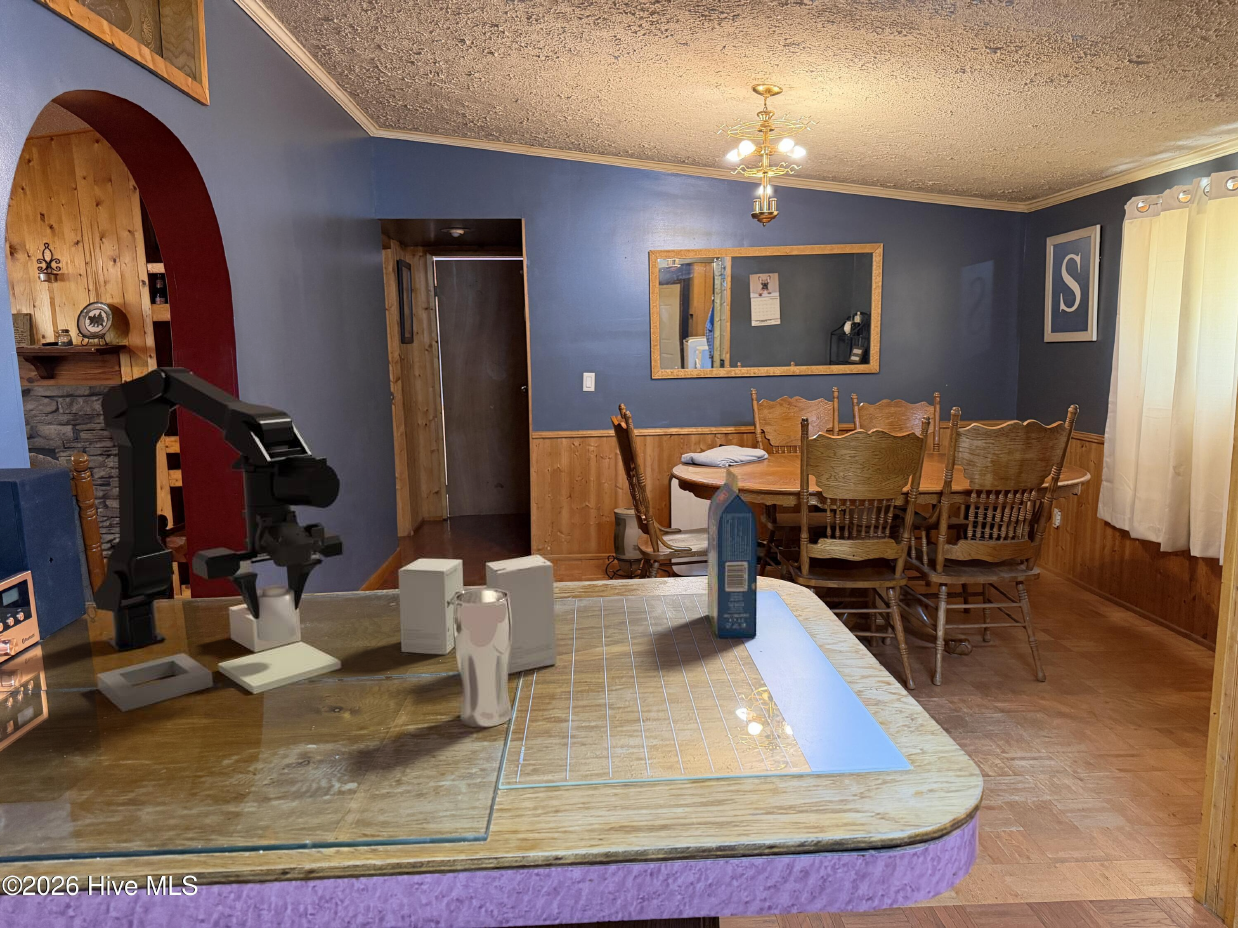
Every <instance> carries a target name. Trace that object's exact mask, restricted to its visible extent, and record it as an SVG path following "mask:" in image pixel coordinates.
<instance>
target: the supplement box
mask: <svg viewBox="0 0 1238 928" xmlns="http://www.w3.org/2000/svg"><path fill="white" fill-rule="evenodd" d="M463 569H464V568H463V560H462V559H453V558H452V559H450V558H449V559H448V558H419V559H416V560H414V561H413V562H411V563H409V564H407V565H405V566H403V567H402V568H400V569H398V571H397V572H398V574H397V575H398V593H399V596H398V597H399V616H400V618H399V619H400V622H399V623H400V641H401V645H400V646H401V652H403V653H417V654H427V655H428V654H429V655H431V654H432V655H447V654H448V653H449V652H451V650H452V649H453V648H455V646H454V636H453V611H454V596H455V595H456V594H458V593H460V592H463V591H464V578H463V577H464V575H463Z"/></svg>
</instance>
